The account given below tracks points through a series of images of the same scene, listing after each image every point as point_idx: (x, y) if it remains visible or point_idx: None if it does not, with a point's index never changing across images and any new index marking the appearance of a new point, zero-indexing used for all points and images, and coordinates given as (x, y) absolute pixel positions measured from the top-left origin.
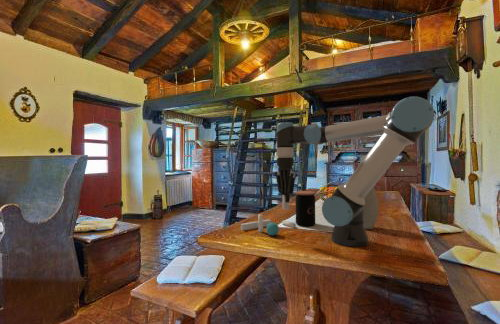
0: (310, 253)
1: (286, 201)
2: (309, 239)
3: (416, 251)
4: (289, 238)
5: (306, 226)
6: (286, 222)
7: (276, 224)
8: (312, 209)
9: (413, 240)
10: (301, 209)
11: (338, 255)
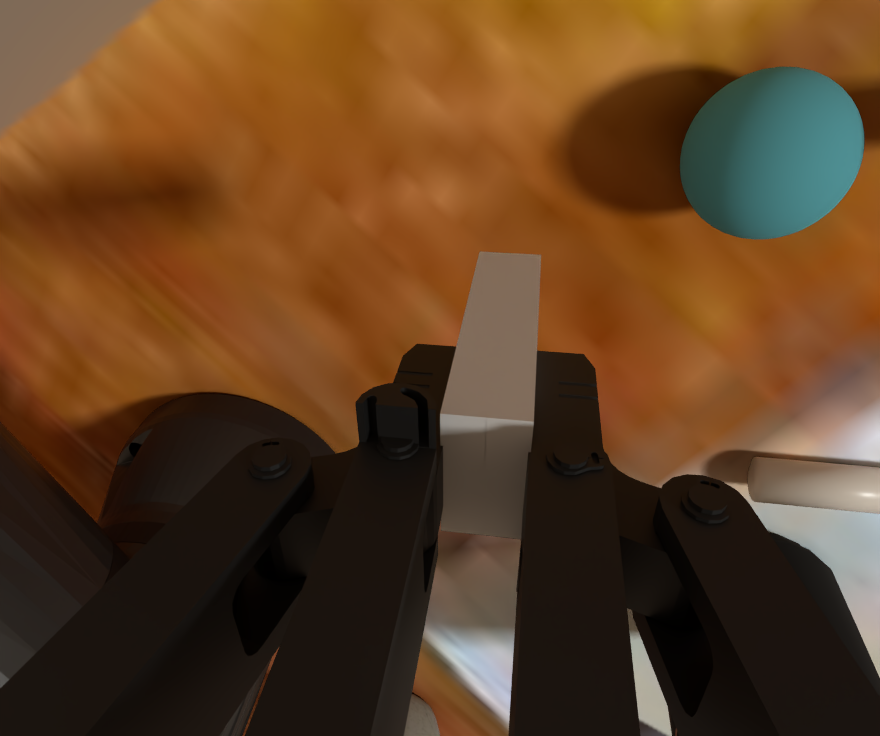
0: (120, 78)
1: (424, 354)
2: (410, 328)
3: None
4: (537, 212)
5: None
6: (870, 486)
7: (733, 212)
8: (671, 716)
9: None
10: None
11: (33, 227)
